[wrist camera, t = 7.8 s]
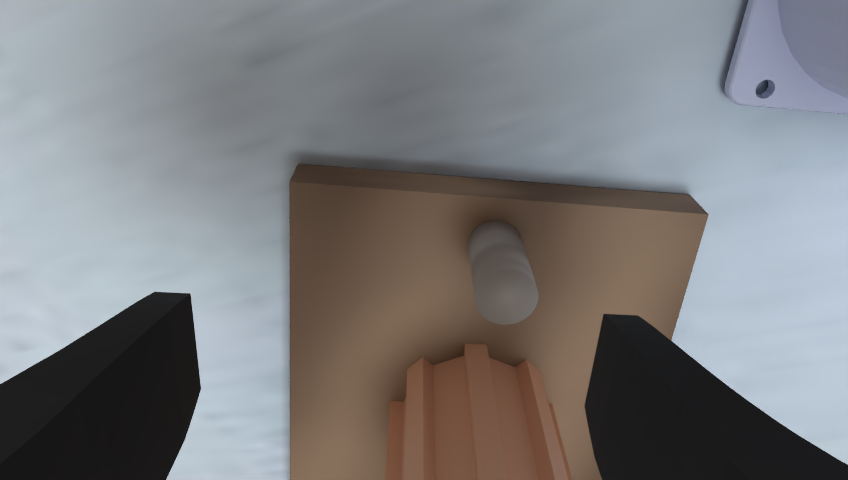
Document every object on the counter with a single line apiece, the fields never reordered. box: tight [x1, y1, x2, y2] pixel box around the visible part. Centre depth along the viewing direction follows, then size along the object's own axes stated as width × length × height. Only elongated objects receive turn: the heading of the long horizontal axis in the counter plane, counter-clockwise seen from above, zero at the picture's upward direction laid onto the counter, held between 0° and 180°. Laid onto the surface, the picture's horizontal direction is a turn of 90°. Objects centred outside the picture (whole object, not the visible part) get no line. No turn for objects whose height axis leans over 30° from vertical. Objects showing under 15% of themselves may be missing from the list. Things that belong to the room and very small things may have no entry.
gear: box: [385, 344, 572, 480], centre depth 20 cm, size 5×5×6 cm
